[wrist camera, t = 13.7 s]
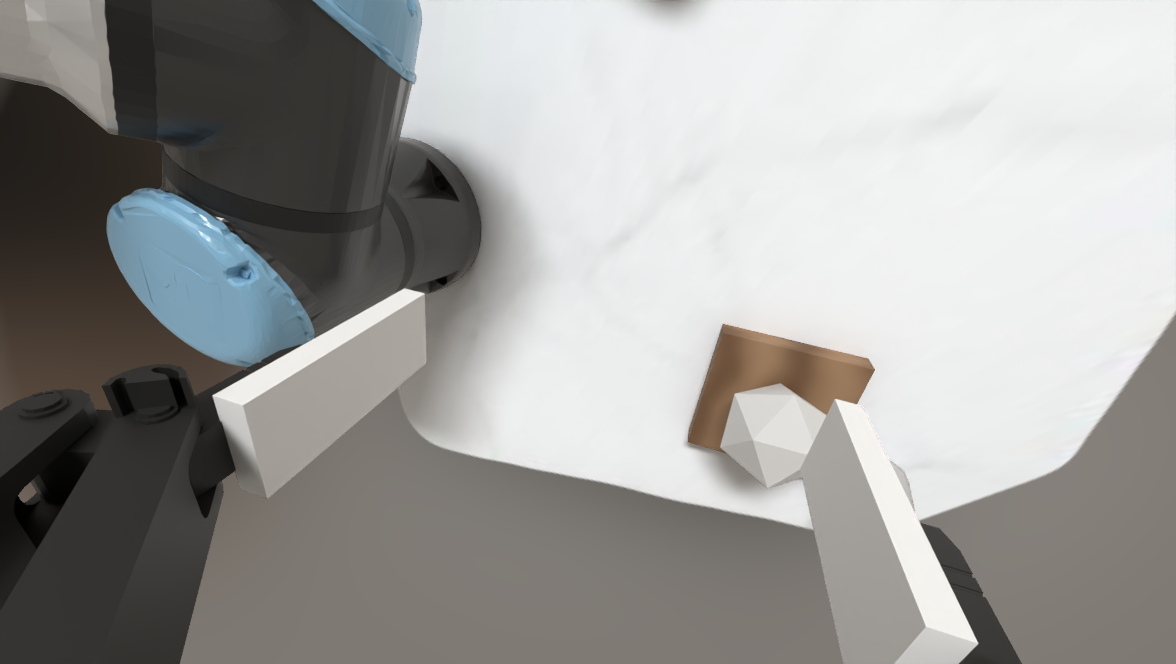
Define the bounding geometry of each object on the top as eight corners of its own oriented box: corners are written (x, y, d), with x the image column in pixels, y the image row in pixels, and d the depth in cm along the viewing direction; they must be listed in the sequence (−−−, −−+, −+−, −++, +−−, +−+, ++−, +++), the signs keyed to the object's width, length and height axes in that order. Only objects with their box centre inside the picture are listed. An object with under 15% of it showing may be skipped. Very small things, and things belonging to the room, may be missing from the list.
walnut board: (688, 430, 49) (687, 442, 47) (723, 324, 43) (723, 332, 41) (813, 465, 47) (817, 479, 45) (868, 358, 41) (874, 369, 39)
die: (761, 455, 46) (842, 507, 37) (691, 450, 43) (762, 505, 34) (783, 378, 45) (871, 413, 36) (713, 367, 42) (792, 402, 33)
